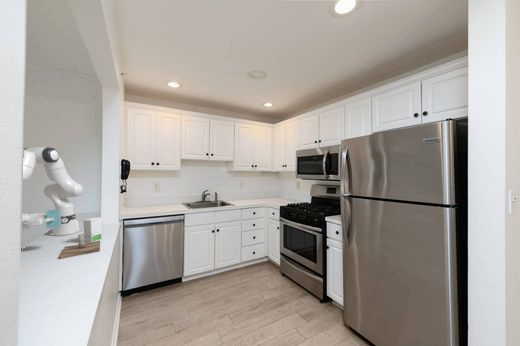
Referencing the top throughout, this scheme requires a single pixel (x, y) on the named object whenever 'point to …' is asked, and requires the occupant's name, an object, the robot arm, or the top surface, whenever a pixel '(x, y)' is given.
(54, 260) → the top surface
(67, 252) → the base
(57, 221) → the teal pencil cup
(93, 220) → the skincare box
